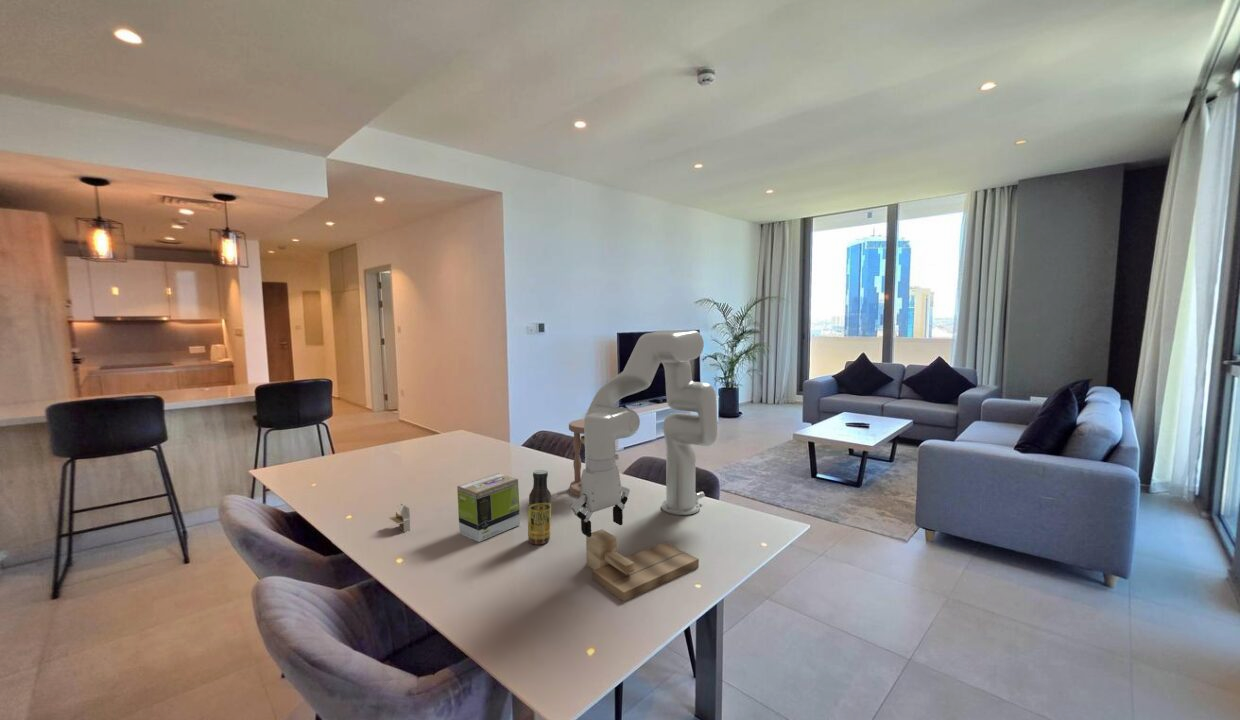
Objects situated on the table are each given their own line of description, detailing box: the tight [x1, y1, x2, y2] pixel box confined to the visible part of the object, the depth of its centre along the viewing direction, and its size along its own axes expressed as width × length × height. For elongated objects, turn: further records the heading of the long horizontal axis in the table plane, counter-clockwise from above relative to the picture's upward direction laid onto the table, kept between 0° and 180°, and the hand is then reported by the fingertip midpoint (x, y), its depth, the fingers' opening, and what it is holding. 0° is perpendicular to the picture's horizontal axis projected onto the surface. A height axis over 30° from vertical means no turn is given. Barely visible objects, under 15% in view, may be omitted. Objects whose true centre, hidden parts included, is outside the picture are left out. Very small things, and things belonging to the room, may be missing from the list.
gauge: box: [585, 528, 634, 575], centre depth 117 cm, size 5×14×8 cm, turn 38°
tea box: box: [456, 473, 521, 543], centre depth 142 cm, size 15×10×15 cm, turn 141°
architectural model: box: [388, 502, 411, 533], centre depth 143 cm, size 3×7×7 cm, turn 47°
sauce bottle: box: [527, 469, 552, 546], centre depth 134 cm, size 7×6×20 cm
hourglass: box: [568, 418, 585, 497], centre depth 176 cm, size 18×18×25 cm
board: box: [592, 541, 700, 602], centre depth 117 cm, size 24×12×2 cm, turn 128°
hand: (602, 529), depth 120 cm, fingers open, 9 cm apart
